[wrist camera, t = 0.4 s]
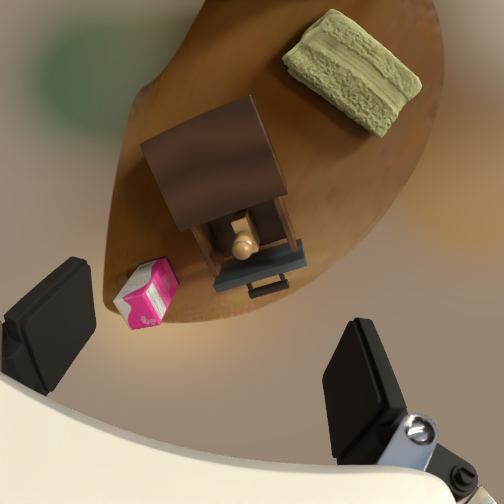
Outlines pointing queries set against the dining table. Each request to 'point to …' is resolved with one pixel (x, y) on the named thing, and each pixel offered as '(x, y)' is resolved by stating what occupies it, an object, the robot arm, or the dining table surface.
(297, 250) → the drawer
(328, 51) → the washcloth
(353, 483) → the robot arm
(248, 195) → the cabinet
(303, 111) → the dining table surface
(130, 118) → the dining table surface
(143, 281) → the supplement box
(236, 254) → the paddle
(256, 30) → the dining table surface
